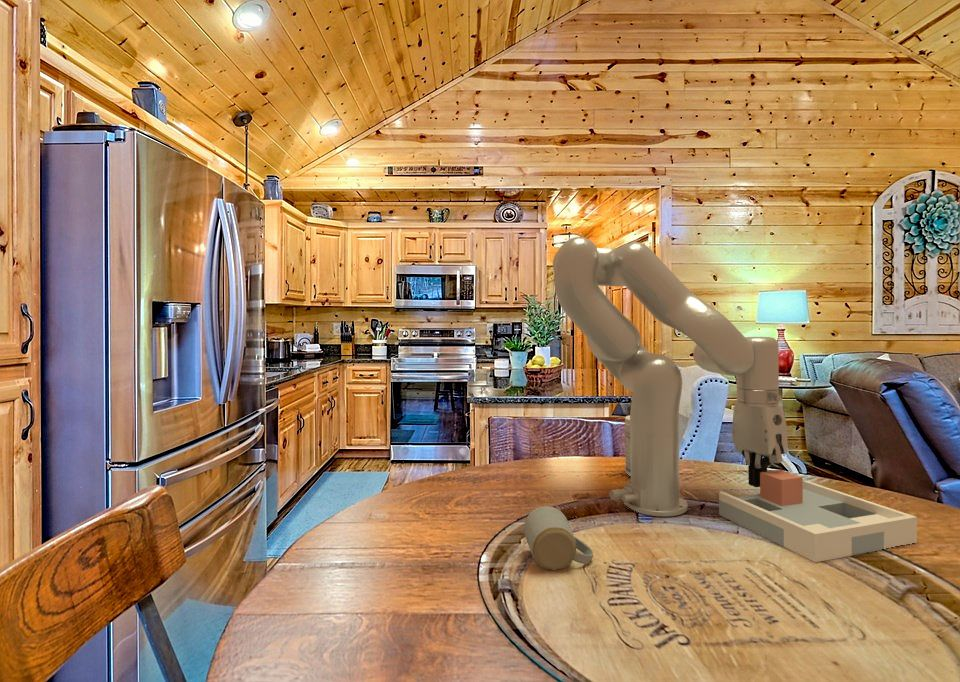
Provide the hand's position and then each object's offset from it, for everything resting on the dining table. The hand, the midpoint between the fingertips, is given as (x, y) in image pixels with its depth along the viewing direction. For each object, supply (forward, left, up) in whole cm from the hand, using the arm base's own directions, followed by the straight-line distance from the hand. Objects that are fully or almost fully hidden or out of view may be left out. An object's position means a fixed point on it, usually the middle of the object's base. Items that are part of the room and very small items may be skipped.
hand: (757, 485), depth 101 cm
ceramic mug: (-49, -9, -5) cm, 50 cm away
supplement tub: (-10, +24, -4) cm, 27 cm away
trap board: (0, -12, -4) cm, 13 cm away
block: (0, -6, -1) cm, 6 cm away
